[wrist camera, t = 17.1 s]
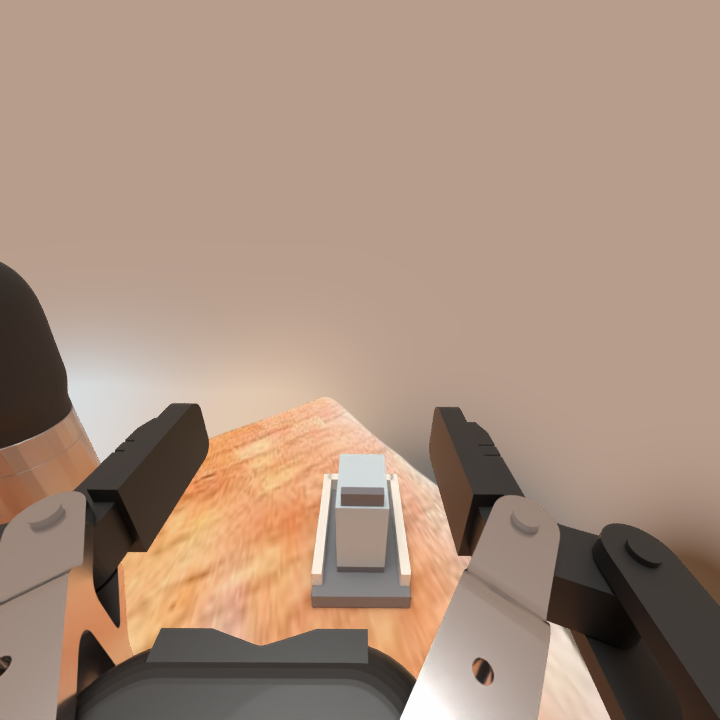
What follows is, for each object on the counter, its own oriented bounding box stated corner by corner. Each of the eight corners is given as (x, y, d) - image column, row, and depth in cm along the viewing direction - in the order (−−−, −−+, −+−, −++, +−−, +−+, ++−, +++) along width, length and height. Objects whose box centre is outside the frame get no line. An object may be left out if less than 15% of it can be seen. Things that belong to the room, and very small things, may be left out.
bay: (312, 585, 31) (311, 573, 30) (325, 484, 43) (324, 473, 42) (409, 585, 31) (411, 574, 31) (395, 484, 43) (396, 474, 42)
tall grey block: (337, 572, 33) (334, 495, 27) (341, 513, 39) (340, 442, 34) (384, 572, 33) (390, 496, 27) (380, 514, 39) (384, 443, 34)
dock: (312, 607, 31) (311, 596, 30) (325, 494, 44) (325, 484, 43) (409, 607, 31) (410, 597, 31) (394, 494, 44) (395, 484, 43)
